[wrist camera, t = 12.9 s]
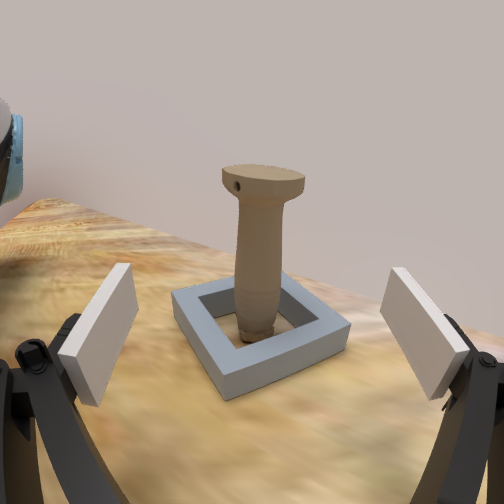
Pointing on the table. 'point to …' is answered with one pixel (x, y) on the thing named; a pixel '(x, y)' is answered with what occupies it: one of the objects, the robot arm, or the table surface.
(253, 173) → the handle
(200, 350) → the socket block
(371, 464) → the table surface
